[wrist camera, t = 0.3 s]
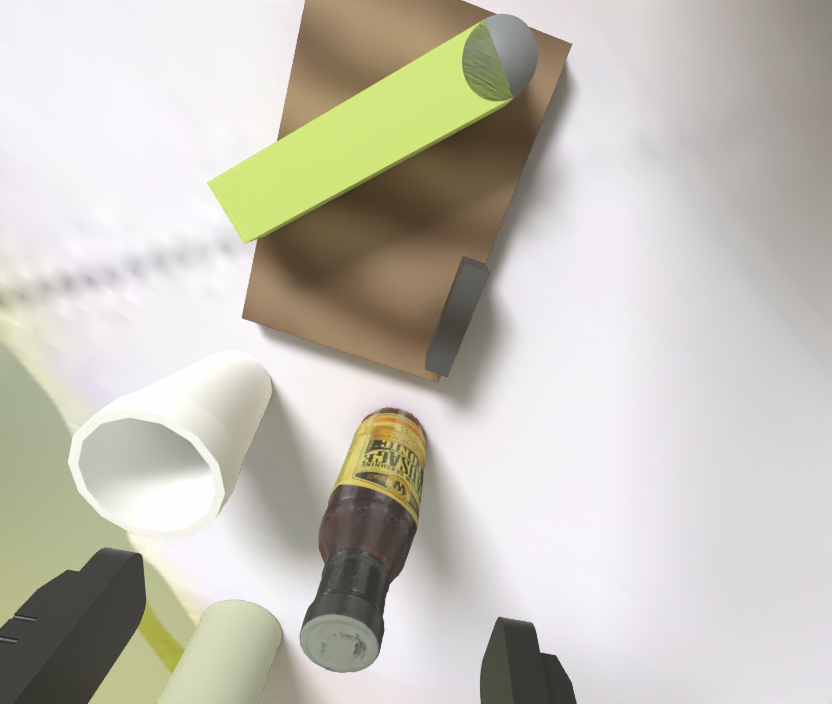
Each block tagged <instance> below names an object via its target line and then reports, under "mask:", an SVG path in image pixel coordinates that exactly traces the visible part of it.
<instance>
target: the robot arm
mask: <svg viewBox="0 0 832 704" xmlns="http://www.w3.org/2000/svg"><path fill="white" fill-rule="evenodd" d="M145 606H146V592H145V580H144V568H143V558H142V555H141V554H140V553H135V552H129V551H123V550H117V549H112V548H103V549H101V550H99V551H98V552H97V553H95V555H94V556H93V557H92V558H91V559H90V560H89V561H88V562H87V563H86V564H85V566H84V567H83V568H82V569H81V570H80V571H79V572H78V571H72V570H66V571H65V572H63V573H62V574H60V575H59V576H57V577H56V578H54V579H53V580H51V581H50V582H48V583H46V584H45V585H43V586H42V587H40V588H39V589H38V590H37V591H36V592H35V593H34V594H33V595H32V596H31V597H30V598H29V599H28V600H27V601H26V602H25V603H24V604H23V605H22V606H21V608H19V609H18V611H17V612H16V613H15V615H14V617H13V618H12V619H9V620H8V621H7V622H6V623H5V624H4V625H3V626H2V627H1V628H0V704H88V702H89V701H90V699H91V698H92V696H93V695H94V693H95V692H96V690H97V689H98V687H99V686H100V684H101V683H102V681H103V680H104V678H105V676H106V675H107V674H108V672H109V671H110V669H111V668H112V666H113V665H114V663H115V662H116V660H117V658H118V657H119V655H120V654H121V652H122V651H123V649H124V648H125V646H126V645H127V643H128V642H129V640H130V639H131V637H132V636H133V634H134V633H135V631H136V629H137V627H138V626H139V623H140V621H141V619H142V616H143V613H144V610H145ZM480 698H481V704H577V703H576V699H575V695H574V690H573V686H572V682H571V681H570V679H569V677H568V675H567V674H566V672H565V670H564V669H563V667H562V665H561V663H560V662H559V660H558V658H557V657H556V655H551V654H545V653H540V649H539V644H538V639H537V634H536V630H535V627H534V625H533V624H532V623H531V622H526V621H520V620H514V619H508V618H503V617H498V619H497V620H496V623H495V626H494V629H493V632H492V634H491V637H490V640H489V643H488V646H487V649H486V652H485V655H484V658H483V661H482V666H481V675H480Z"/></svg>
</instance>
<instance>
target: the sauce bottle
mask: <svg viewBox="0 0 832 704" xmlns="http://www.w3.org/2000/svg"><path fill="white" fill-rule="evenodd" d="M425 438H426V436H425V433H424V430H423V428H422V426H421V424H420V423H419V421H418V420H417V418H415V417H414V416H413V415H412V414H410V413H408V412H406V411H403V410H400V409H394V408H383V409H380V410H378V411H375V412H374V413H372V414H370V415H368V416H367V417H366V418H365V419H364V420H363V421H362V423H361V425H360V426H359V427H358V429H357V431H356V433H355V435H354V438H353V441H352V443H351V446H350V448H349V451H348V453H347V456H346V459H345V461H344V464H343V466H342V469H341V471H340V474H339V476H338V479H337V481H336V483H335V486H334V488H333V491H332V493H331V496H330V499H329V503H328V507H327V510H326V513H325V514H324V516H323V518H322V522H321V526H320V530H319V549H320V552H321V556H322V558H323V560H324V563H325V566H324V569H323V572H322V580H321V582H320V586H319V588H318V591H317V595H316V597H315V600H314V601H313V603H312V604H311V605H310V606H309V608H308V609H307V612H306V615H305V618H304V621H303V624H302V628H301V632H300V645H301V647H302V649H303V651H304V653H305V654H306V655H307V656H308V658H309V659H310V660H311V661H312V662H314V663H316V664H317V665H319V666H321V667H323V668H325V669H327V670H330V671H334V672H340V673H345V672H357V671H360V670H363V669H365V668H367V667H368V666H370V665H371V664H373V662H374V661H375V660H376V658H377V657H378V655H379V653H380V648H381V643H382V638H383V635H384V620H383V613H384V606H385V598H386V594H387V592H388V590H389V585H390V583H391V582H392V581H393V580H394V579H395V578H396V577H397V576H398V575H399V573H400V572H401V571H402V569H403V567H404V564H405V561H406V559H407V556H408V553H409V550H410V547H411V545H412V542H413V539H414V536H415V534H416V531H417V525H418V519H419V508H420V502H421V491H422V483H423V474H424V466H425V457H426V441H425Z"/></svg>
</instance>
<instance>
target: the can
mask: <svg viewBox="0 0 832 704" xmlns="http://www.w3.org/2000/svg"><path fill="white" fill-rule="evenodd" d="M281 641H282V630H281V627H280V625H279V623H278V621H277V620H276V618H275V617H274V616H273V615H272V614H271V613H270V612H268V611H267V610H266V609H264V608H262V607H261V606H259V605H256V604H254V603H251V602H247V601H243V600H224V601H220V602H217V603H215V604H213V605H211V606H209V607H208V608H207V609H206V610H205V611H204V612H203V614H202V616H201V618H200V622H199V624H198V626H197V628H196V630H195V632H194V634H193V636H192V638H191V640H190V642H189V644H188V646H187V648H186V649H185V651H184V653H183V655H182V657H181V659H180V661H179V663H178V664H177V666H176V668H175V670H174V672H173V674H172V676H171V678H170V679H169V681H168V683H167V685H166V687H165V689H164V691H163V692H162V694H161V696H160V698H159V700H158V702H157V703H156V704H258V703H259V700H260V697H261V694H262V691H263V688H264V685H265V682H266V679H267V677H268V674H269V671H270V668H271V665H272V662H273V660H274V657H275V654H276V652H277V649H278V648H279V646H280V644H281Z"/></svg>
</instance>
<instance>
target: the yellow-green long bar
mask: <svg viewBox="0 0 832 704" xmlns="http://www.w3.org/2000/svg"><path fill="white" fill-rule="evenodd" d="M537 60H538V49H537V43H536V40H535V37H534V35H533V33H532V31H531V29H530V28H529V27H528V25H527V24H526V23H525V22H523V21H522V20H521V19H519V18H517V17H515V16H512V15H508V14H498V15H493V16H490V17H488V18H486V19H484V20H482V21H481V22H479V23H477V24H476V25H474V26H472V27H471V28H469V29H467V30H465V31H464V32H462V33H460V34H459V35H457V36H455V37H454V38H452V39H450V40H448V41H447V42H445V43H443V44H442V45H440V46H438V47H437V48H435V49H433V50H431V51H430V52H428V53H426V54H425V55H423V56H421V57H420V58H418V59H416V60H415V61H413V62H411V63H409V64H408V65H406V66H404V67H403V68H401V69H399V70H398V71H396V72H394V73H392V74H391V75H389V76H387V77H386V78H384V79H382V80H381V81H379V82H377V83H375V84H374V85H372V86H370V87H369V88H367V89H365V90H364V91H362V92H360V93H359V94H357V95H355V96H353V97H352V98H350V99H348V100H347V101H345V102H343V103H342V104H340V105H338V106H336V107H335V108H333V109H331V110H330V111H328V112H326V113H325V114H323V115H321V116H319V117H318V118H316V119H314V120H313V121H311V122H309V123H308V124H306V125H304V126H303V127H301V128H299V129H297V130H296V131H294V132H292V133H291V134H289V135H287V136H286V137H284V138H282V139H280V140H279V141H277V142H275V143H274V144H272V145H270V146H269V147H267V148H265V149H263V150H262V151H260V152H258V153H257V154H255V155H253V156H252V157H250V158H248V159H246V160H245V161H243V162H241V163H240V164H238V165H236V166H235V167H233V168H231V169H230V170H228V171H226V172H224V173H223V174H221V175H219V176H218V177H216V178H214V179H213V180H211V181H209V182H207V183H208V185H209V187H210V188H211V190H212V192H213V193H214V195H215V197H216V198H217V200H218V201H219V203H220V205H221V206H222V208H223V210H224V211H225V213H226V214H227V216H228V218H229V219H230V221H231V223H232V224H233V226H234V228H235V229H236V231H237V232H238V234H239V236H240V237H241V239H242V241H243V242H244V244H245V243H248V242H250V241H253V240H256V239H258V238H261V237H264V236H266V235H268V234H270V233H272V232H274V231H276V230H278V229H279V228H281V227H283V226H285V225H287V224H289V223H290V222H292V221H294V220H296V219H298V218H300V217H302V216H303V215H305V214H307V213H309V212H311V211H313V210H314V209H316V208H318V207H320V206H322V205H324V204H326V203H327V202H329V201H331V200H333V199H335V198H337V197H338V196H340V195H342V194H344V193H346V192H348V191H350V190H351V189H353V188H355V187H357V186H359V185H361V184H362V183H364V182H366V181H368V180H370V179H372V178H374V177H375V176H377V175H379V174H381V173H383V172H385V171H386V170H388V169H390V168H392V167H394V166H396V165H398V164H399V163H401V162H403V161H405V160H407V159H409V158H410V157H412V156H414V155H416V154H418V153H420V152H422V151H423V150H425V149H427V148H429V147H431V146H433V145H435V144H436V143H438V142H440V141H442V140H444V139H446V138H447V137H449V136H451V135H453V134H455V133H457V132H459V131H460V130H462V129H464V128H466V127H468V126H470V125H471V124H473V123H475V122H477V121H479V120H481V119H483V118H484V117H486V116H488V115H490V114H492V113H494V112H495V111H497V110H499V109H501V108H503V107H505V106H506V105H508V104H509V103H510V102H512V101H513V100H514V99H515V98H516V97H517V96H518V95H519V94H520V93H521V92H522V91H523V90H524V89H525V88H526V87H527V85H528V84H529V82H530V81H531V79H532V77H533V75H534V73H535V69H536V66H537Z"/></svg>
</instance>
